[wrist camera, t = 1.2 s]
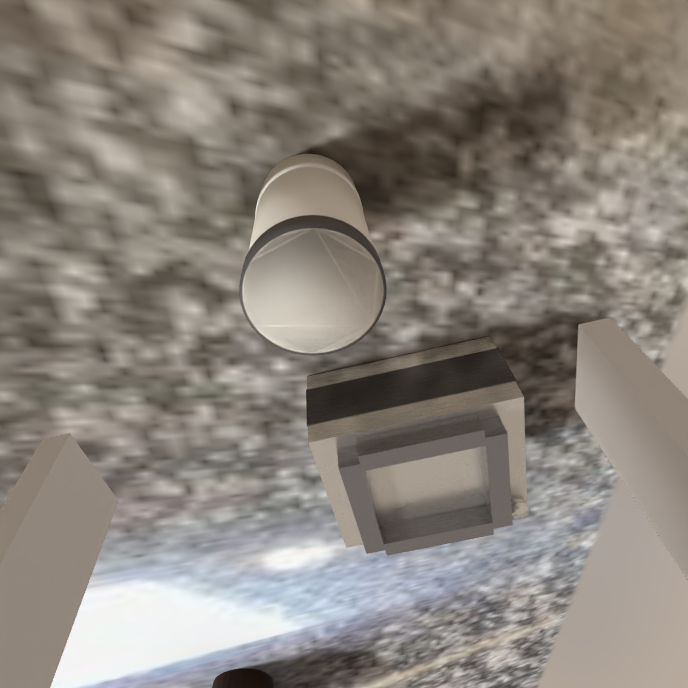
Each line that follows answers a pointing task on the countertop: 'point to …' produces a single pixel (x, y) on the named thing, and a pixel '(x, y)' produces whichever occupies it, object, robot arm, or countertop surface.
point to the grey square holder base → (420, 447)
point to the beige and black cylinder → (311, 260)
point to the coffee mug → (243, 679)
